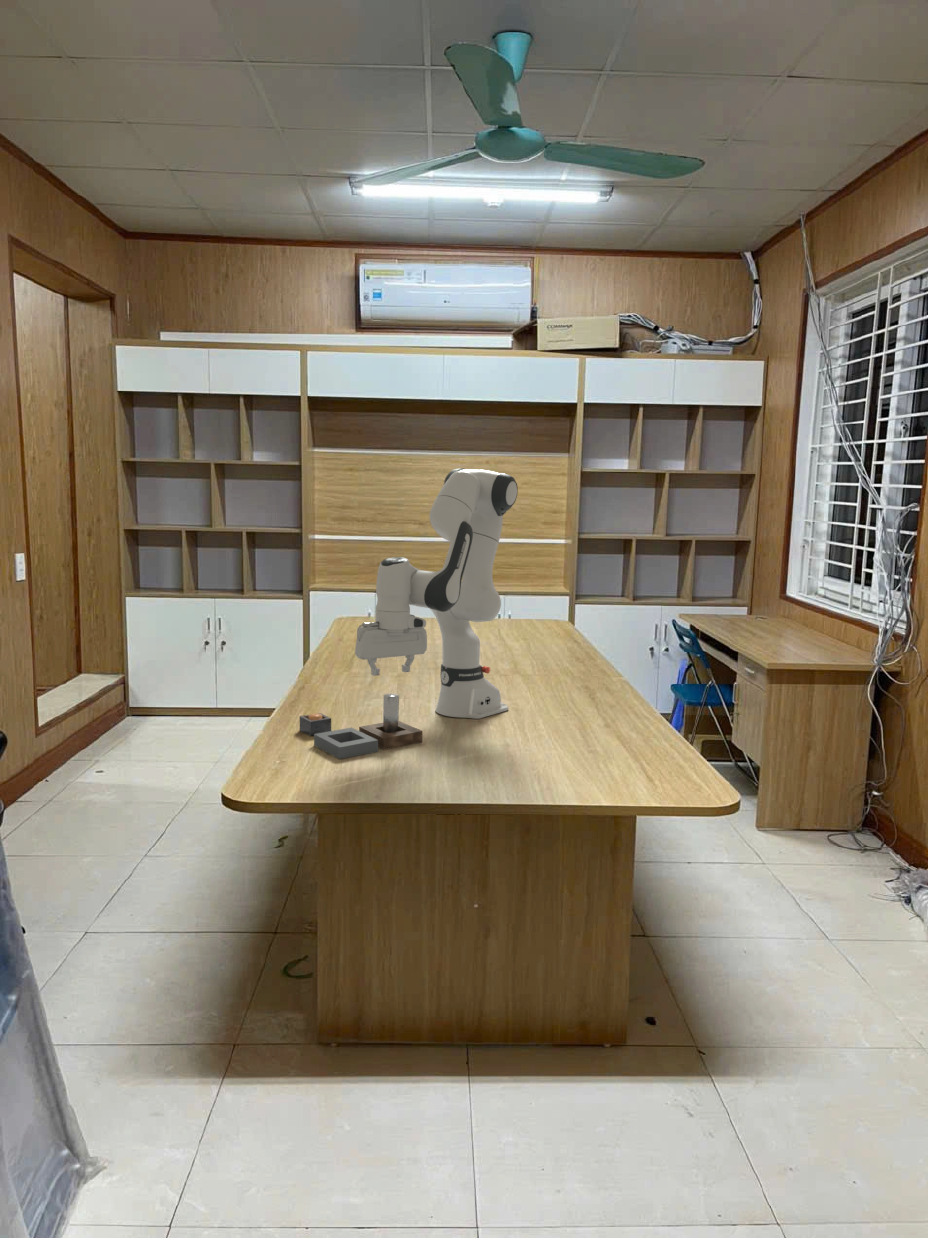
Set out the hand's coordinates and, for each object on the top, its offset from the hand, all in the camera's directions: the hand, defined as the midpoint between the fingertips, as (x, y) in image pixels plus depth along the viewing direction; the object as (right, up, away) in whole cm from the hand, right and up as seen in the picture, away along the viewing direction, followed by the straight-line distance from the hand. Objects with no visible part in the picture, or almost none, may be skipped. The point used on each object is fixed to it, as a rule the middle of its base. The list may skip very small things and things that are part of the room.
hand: (390, 673), depth 220 cm
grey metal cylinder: (0, -18, +3) cm, 18 cm away
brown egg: (-21, -15, +8) cm, 27 cm away
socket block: (0, -18, +3) cm, 18 cm away
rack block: (-11, -19, -5) cm, 22 cm away
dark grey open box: (-21, -16, +8) cm, 28 cm away
